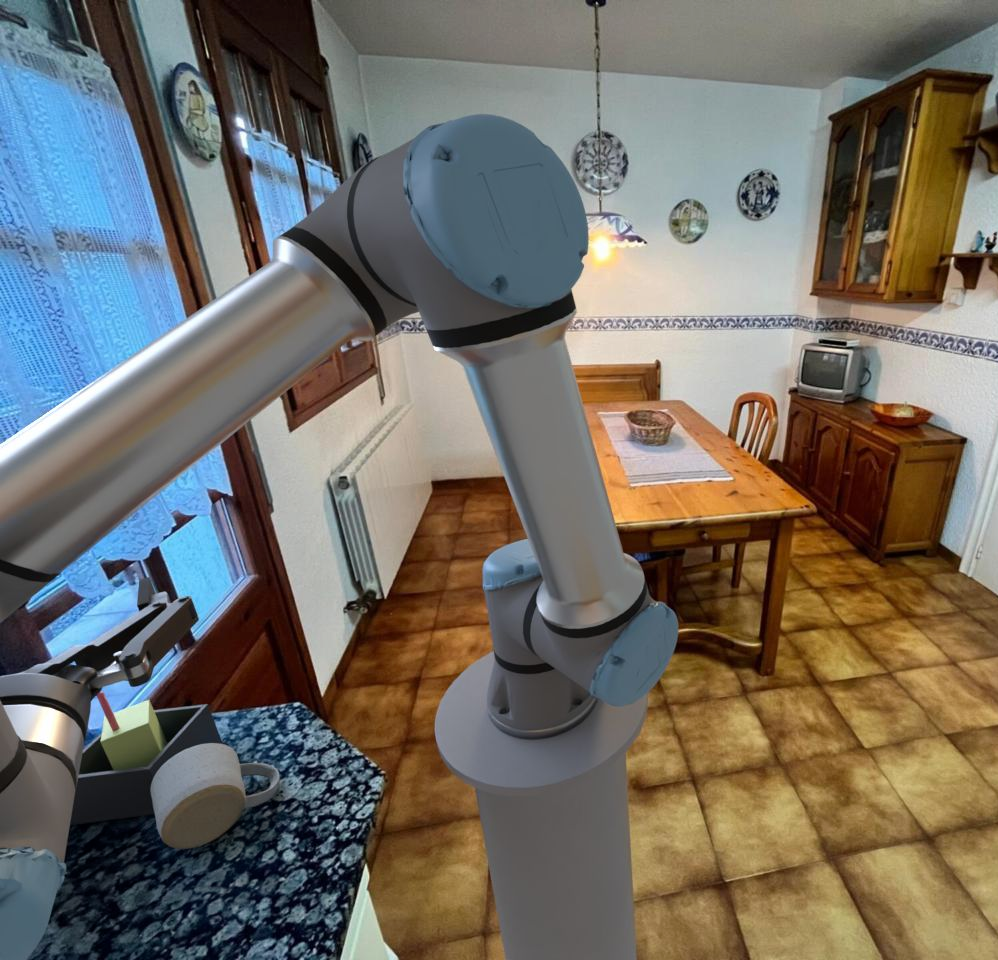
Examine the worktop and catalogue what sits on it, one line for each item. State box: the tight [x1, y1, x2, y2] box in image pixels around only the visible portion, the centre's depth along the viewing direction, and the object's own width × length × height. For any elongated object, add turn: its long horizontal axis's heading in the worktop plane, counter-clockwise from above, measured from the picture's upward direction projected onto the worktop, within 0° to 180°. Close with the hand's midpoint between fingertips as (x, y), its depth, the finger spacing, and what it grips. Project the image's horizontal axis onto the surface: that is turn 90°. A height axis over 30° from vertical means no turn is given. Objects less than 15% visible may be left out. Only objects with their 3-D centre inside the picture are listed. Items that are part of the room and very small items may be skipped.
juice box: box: [96, 691, 168, 770], centre depth 61 cm, size 4×5×14 cm
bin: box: [70, 703, 223, 826], centre depth 62 cm, size 10×10×6 cm
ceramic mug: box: [150, 743, 281, 850], centre depth 58 cm, size 11×8×8 cm
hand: (49, 617), depth 47 cm, fingers open, 13 cm apart
